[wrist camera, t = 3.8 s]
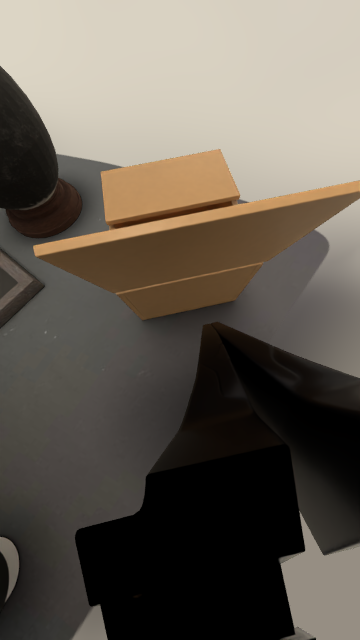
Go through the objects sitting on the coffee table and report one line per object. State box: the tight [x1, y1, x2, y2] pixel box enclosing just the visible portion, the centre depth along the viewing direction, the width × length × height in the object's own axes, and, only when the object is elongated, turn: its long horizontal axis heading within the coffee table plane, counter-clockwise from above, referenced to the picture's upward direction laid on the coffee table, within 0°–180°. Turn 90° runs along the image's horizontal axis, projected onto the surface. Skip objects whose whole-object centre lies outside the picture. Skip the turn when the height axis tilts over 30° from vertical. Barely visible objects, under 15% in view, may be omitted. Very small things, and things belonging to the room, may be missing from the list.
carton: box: [101, 149, 263, 320], centre depth 17 cm, size 13×12×8 cm
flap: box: [33, 181, 360, 293], centre depth 8 cm, size 6×12×1 cm
